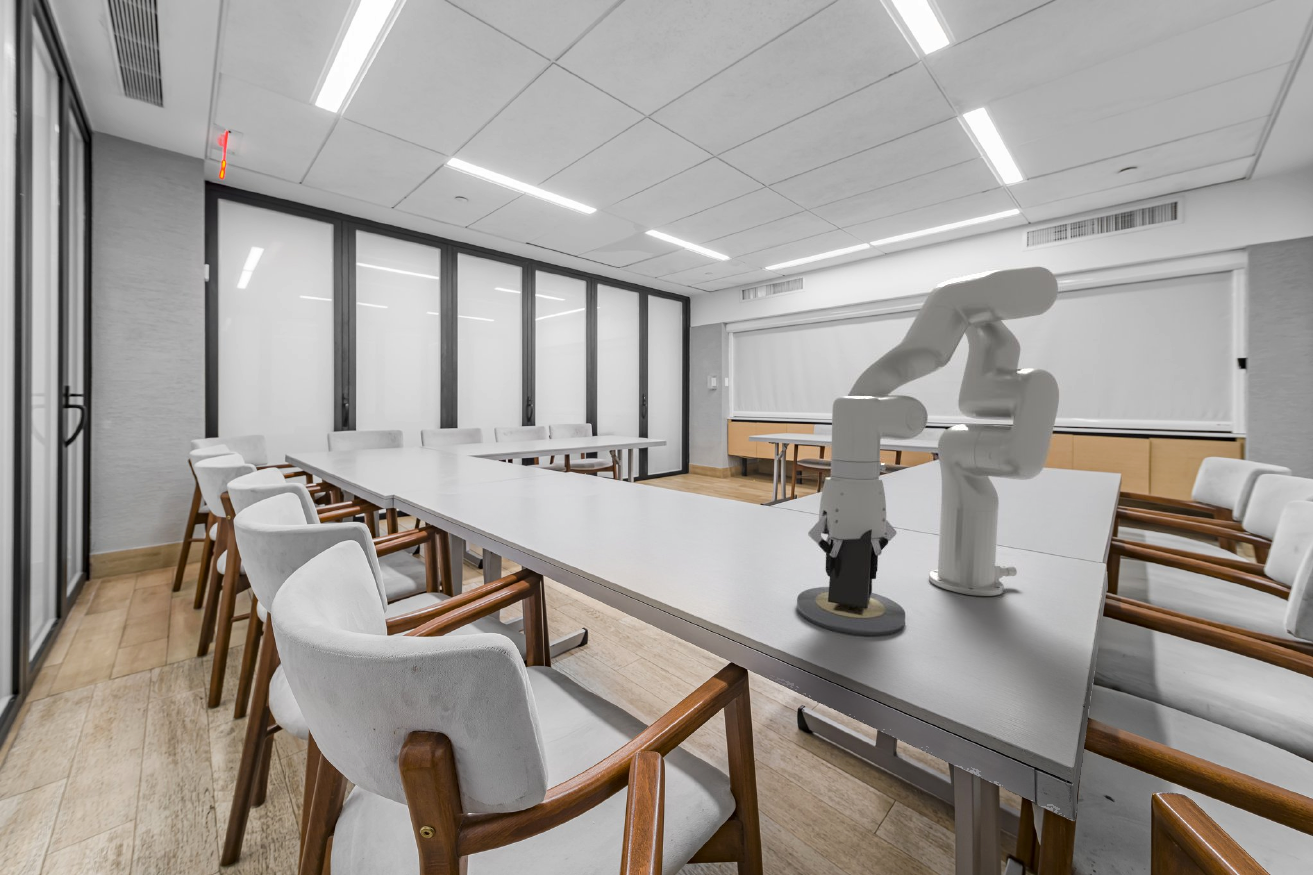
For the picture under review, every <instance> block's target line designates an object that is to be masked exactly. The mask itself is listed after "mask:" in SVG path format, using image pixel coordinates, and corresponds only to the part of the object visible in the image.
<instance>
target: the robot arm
mask: <svg viewBox="0 0 1313 875" xmlns="http://www.w3.org/2000/svg"><path fill="white" fill-rule="evenodd" d="M1058 294H1059V285H1058V281H1057V278H1056V276H1055V275H1054V274H1053V272H1052V271H1051V270H1050V269H1048V268H1046V267H1043V266H1030V267H1022V268H1009V269H999V270H991V271H985V272H982V273H977V274H971V275H967V276H963V277H959V278H953V279H950V280H947V281H944V282H942V283H939V284H938V285H936V286H935V287H933V289H932V290H931V291H930V293H929V294H928V296H927V298H925V301H924V303H923V304H922V307H920V309H919V311H918V313H917V314H916V316H915V319H914V320H913V322H912V323H911V326H909V329H908V330H907V332H906V334H905V336H904V338H903V339H902V341H900V343H899V344H897V345H896V346H895V347H893V348H892V349H890V350H889V351H887V352H886V353H885V354H883V355H882V356H881V357H880V358H878V359H877V360H876V361H875V362H873V363H872V364H871V365H870V366H869V367H867V368H866V369H865V370H864V371H863V372H862V373H861V374H860V375H859V376H858V378H857V379H856V381H855V382H854V384H853V386H852V387H851V389H850V391H849V393H847V394H848V395H846V396H838V397H837V398H836V399H834V401H833V404H832V412H831V413H832V416H831V417H832V420H831V448H830V450H831V452H830V453H831V454H830V455H831V456H830V458H831V459H830V477H825V479H824V483H823V487H822V490H821V497H820V503H819V511H818V512H819V513H818V521H817V522H815V524H814V526H813V527H812V528H810V530H809V531H808V533H807V535H808V537H809V538H810V539H812V540H813V542H814V543H816V545H818V546H819V547H820V549H821V550H822V551H823V552H824V553H825V573H826V575H827V577H829V578H830V573H831V572H832V570H833V568H834V569H835V575H836V579H837V577H838V576H839V572H840V561H841V559H840V557H838V556H837V554H838V552H839V549H840V546H841V544H842V541H843V540H856V539H860V537H861V536H862V535H863V534H864V533H865V532H867V531H869V530H872V535H871V543H872V556H871V562H870V578H871V579H872V580H876V578H877V572H878V568H879V567H878V566H879V565H878V563H879V562H878V561H879V560H878V559H879V556H881V554H882V552H883V550H884V549H885V548H886V546H888V543H889V542H890V541H892V539H894V537H896V535H897V534H898V533H897V530H896V529H895V528H894V527H893V525H892V524H890V522H889V521H888V520H887V503H886V501H887V500H886V493H885V488H884V482H883V479H881V478H880V477H881V476H880V475H881V472H885V471H886V467H887V466H886V464H885V463H881V459H880V458H881V439H882V440H889V441H891V440H892V441H907V440H911V439H913V438H916V437H917V436H919V435H920V434H922V432H923V431H925V428H926V426H927V425H928V424H927V423H928V420H929V419H928V410H927V408H926V407H925V405H924V404H923V403H922V402H921V401H920V400H918V399H917V398H915V397H912V396H909V395H901V394H900V395H899V394H898V395H890V394H891V393H893V392H894V391H895V390H897V389H898V388H900V387H902V386H904V385H906V384H908V383H910V382H913V381H915V380H918V379H921V378H923V377H926V376H928V375H930V374H933V373H934V372H937V371H939V370H941V369H943V367H946V366H947V365H948V363H949V362H950V361H951V359H952V357H953V355H954V353H955V351H956V350H957V348H958V346H959V345H960V342H961V341H962V338H963V337H964V335H965V336H966V339H967V343H968V354H967V358H966V363H965V367H964V372H963V376H962V380H961V385H960V389H959V394H958V400H957V401H958V402H957V404H958V405H957V406H958V409H959V411H960V413H961V414H962V415H964V416H966V417H967V418H971V419H976V420H987V421H988V420H989V421H990V420H991V421H1012V425H992V424H977V423H975V424H973V423H972V424H969V423H968V424H967V423H965V424H958V425H957V424H956V425H953V426H951V427H949V428H947V429H946V430H944V432H942V434H941V435H940V437H939V439H938V442H937V454H938V460H939V462H938V463H939V466H940V474H941V497H940V498H941V500H940V517H939V518H940V520H939V538H938V539H939V542H938V543H939V544H938V558H937V559H938V563H937V569H934V570H932V571H930V572H928V580H929V582H931V583H932V584H933V585H935V586H936V587H938V588H941V589H944V590H946V591H949V592H952V593H953V592H954V593H957V594H958V593H959V594H963V595H968V596H977V597H993V596H999V595H1002V594H1003V593H1004V592H1005V591H1004V590H1005V588H1004V587H1005V585H1004V584H1003V582H1001V581H1000V579H1002V578H1003V577H1015V576H1016V575H1017V574H1018V573H1017V572H1018V571H1017V568H1015V566H1013V565H1012V566H1011V565H1008V566H1001V565H1000V564H999V563H996V560H997V559H996V558H997V557H996V556H997V554H996V553H997V539H998V538H997V537H998V536H997V535H998V524H999V523H998V520H999V518H998V517H999V508H1000V506H999V504H1000V503H999V501H1000V500H999V494H998V492H997V490H996V487H995V486H994V484H993V482H992V480H991V479H990V477H992V478H993V477H994V478H1003V479H1009V480H1010V479H1011V480H1025V481H1027V480H1031V479H1034V478H1036V477H1037V476H1039V475H1040V473H1041V472H1042V471H1043V469H1044V467H1045V465H1046V462H1047V458H1048V456H1049V450H1050V447H1051V446H1050V445H1051V441H1052V437H1053V432H1054V427H1055V424H1056V418H1057V413H1058V408H1059V404H1060V388H1059V386H1058V382H1057V380H1056V378H1055V376H1054V375H1053V374H1052V373H1050V372H1049V371H1047V370H1046V369H1040V368H1018V367H1019V361H1020V356H1021V345H1020V342H1019V341H1018V339H1017V337H1016V336H1015V334H1014V333H1013V332H1012V331H1011V330H1010V328H1009V327H1007V325H1006V324H1005V323H1004V322H1003V321H1006V320H1007V321H1008V320H1018V319H1024V318H1029V317H1035V316H1041V315H1043V314H1045V313H1047V312H1048V311H1049V310H1050V309H1051V308H1052V307H1053V305H1054V304H1055V302H1056V300H1057V298H1058ZM822 534H824V535H827V537H826V539H824V538H823V536H822ZM833 540H834V541H833Z"/></svg>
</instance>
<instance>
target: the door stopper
mask: <svg viewBox="0 0 1313 875" xmlns="http://www.w3.org/2000/svg"><path fill="white" fill-rule="evenodd" d="M871 535H872V530H869V531H867V532H865V533H864V534H863V535H862V536H861V537H860V539H856V540H843V541H842V544H841V546H840V549H839V552H838V554H837V556H838V557H840V559H841V561H840V572H839V576H838V577H837V579H836V575H835V569H834V568H833V570H832V572H831V573H830V577H829V582H828V587H829V593H828V602H831V603H837V604H842V605H848V606H853V607H859V608H864V609H867V608H868V604H869V601H870V597H871V593H873V579H871V578H870V562H871V556H872V543H871ZM833 541H834V540H833Z"/></svg>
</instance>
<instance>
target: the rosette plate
mask: <svg viewBox="0 0 1313 875" xmlns="http://www.w3.org/2000/svg"><path fill="white" fill-rule="evenodd" d="M828 593H829V586H818V587H813V588H809V589H806V590H805V589H804V591H802V592H800V593H799V594H798V596H796V597H797V598H796V609H797V612H798V614H799V615H800V616H801V618H802V619H803V620H804V619H805V620H806V621H807V622H809V623H811V624H812V625H815V626H817V627H819V628H821V629H825V630H829V631H832V632H835V633H838V634H845V635H851V636H856V637H857V636H858V637H883V636H890V635H893V634H896V633H898V632H901V631H902V630H903V629H904V628H905V626H906V625H905V624H906V612H905V609H904V608H903V607H902V606H901V604H899V603H897V602H896V601H894V600H892V599H890V598H888V597H886V596H883V595H880V594H879V593H878V594H877V593H876V592H875V593H874V592H872V593H871V597H870V601H869V604H868V608H867V609H864V608H859V607H853V606H848V605H842V604H837V603H831V602H828Z"/></svg>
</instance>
